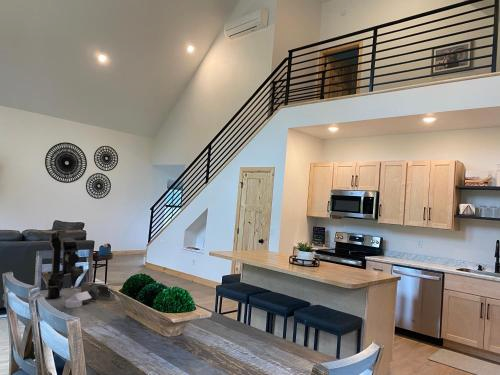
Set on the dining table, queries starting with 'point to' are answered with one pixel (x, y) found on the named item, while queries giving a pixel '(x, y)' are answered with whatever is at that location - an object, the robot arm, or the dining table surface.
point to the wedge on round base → (77, 300)
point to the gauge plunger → (91, 290)
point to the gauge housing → (103, 292)
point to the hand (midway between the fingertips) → (66, 288)
